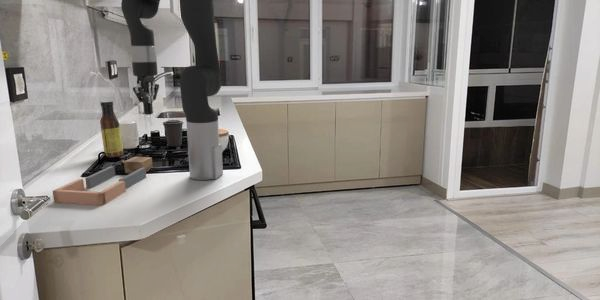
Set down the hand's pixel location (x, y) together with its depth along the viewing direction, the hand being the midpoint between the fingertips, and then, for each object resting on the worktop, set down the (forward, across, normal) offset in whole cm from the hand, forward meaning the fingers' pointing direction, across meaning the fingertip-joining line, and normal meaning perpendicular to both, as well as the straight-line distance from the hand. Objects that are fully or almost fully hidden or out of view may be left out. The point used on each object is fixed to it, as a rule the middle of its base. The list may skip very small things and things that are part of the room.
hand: (148, 114), depth 138 cm
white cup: (+17, +21, +21) cm, 34 cm away
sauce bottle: (+17, +7, +19) cm, 27 cm away
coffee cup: (+17, +27, +5) cm, 32 cm away
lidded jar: (+17, +19, -15) cm, 30 cm away
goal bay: (+17, -33, 0) cm, 37 cm away
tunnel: (+17, -21, 0) cm, 27 cm away
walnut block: (+17, -9, 0) cm, 19 cm away
